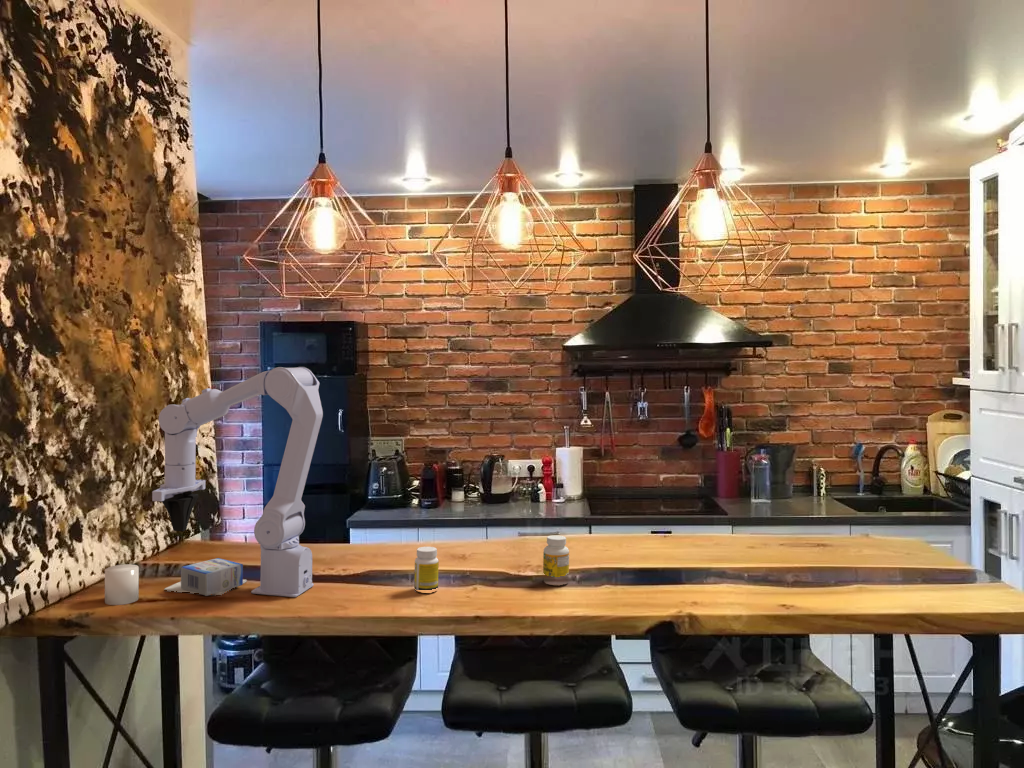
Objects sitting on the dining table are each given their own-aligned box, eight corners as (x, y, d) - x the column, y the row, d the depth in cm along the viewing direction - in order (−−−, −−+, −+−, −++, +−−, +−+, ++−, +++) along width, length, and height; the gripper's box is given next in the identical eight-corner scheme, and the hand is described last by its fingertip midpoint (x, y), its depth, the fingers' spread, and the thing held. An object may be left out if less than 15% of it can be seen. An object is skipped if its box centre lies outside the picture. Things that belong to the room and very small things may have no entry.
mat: (246, 581, 154) (246, 579, 154) (220, 595, 144) (220, 593, 144) (193, 577, 156) (193, 575, 156) (164, 590, 147) (164, 588, 147)
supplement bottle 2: (573, 584, 156) (574, 539, 156) (551, 588, 154) (552, 541, 154) (559, 577, 161) (560, 533, 161) (538, 580, 159) (539, 535, 158)
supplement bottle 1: (443, 590, 150) (443, 549, 150) (424, 595, 147) (425, 553, 147) (427, 585, 154) (428, 544, 153) (409, 590, 150) (410, 548, 150)
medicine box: (179, 566, 146) (217, 556, 154) (179, 589, 147) (217, 578, 154) (206, 573, 142) (243, 563, 150) (206, 597, 143) (243, 585, 150)
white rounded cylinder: (145, 596, 143) (145, 565, 143) (124, 606, 137) (124, 573, 137) (119, 594, 144) (119, 563, 144) (97, 603, 138) (97, 571, 138)
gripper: (184, 458, 160) (184, 521, 160) (138, 467, 146) (138, 537, 146) (214, 459, 159) (214, 523, 159) (171, 469, 144) (170, 539, 145)
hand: (179, 530), depth 153 cm, fingers closed
